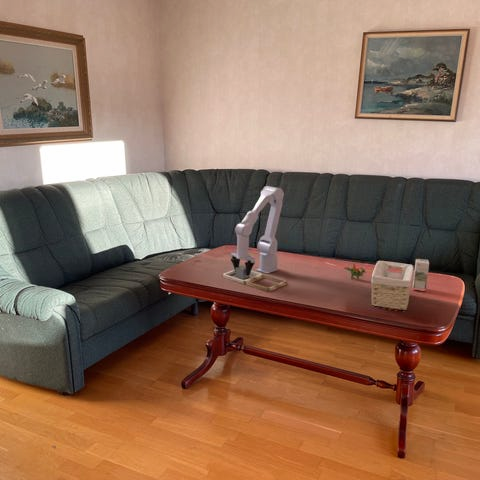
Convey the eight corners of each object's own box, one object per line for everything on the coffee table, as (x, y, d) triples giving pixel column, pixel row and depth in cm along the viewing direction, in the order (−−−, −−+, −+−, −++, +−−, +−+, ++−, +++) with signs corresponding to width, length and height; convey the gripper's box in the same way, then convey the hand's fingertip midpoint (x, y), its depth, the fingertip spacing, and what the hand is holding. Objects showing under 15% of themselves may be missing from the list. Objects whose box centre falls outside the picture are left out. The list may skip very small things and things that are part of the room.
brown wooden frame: (263, 276, 231) (263, 274, 231) (286, 283, 222) (287, 281, 222) (244, 284, 221) (244, 281, 220) (268, 291, 211) (268, 288, 211)
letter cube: (241, 274, 234) (242, 265, 233) (249, 277, 231) (249, 267, 230) (235, 277, 231) (235, 267, 229) (242, 279, 228) (243, 269, 226)
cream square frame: (241, 270, 241) (241, 267, 240) (262, 276, 232) (262, 273, 231) (221, 277, 230) (222, 274, 230) (243, 284, 221) (243, 281, 221)
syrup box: (425, 288, 219) (428, 259, 215) (425, 292, 214) (429, 263, 210) (412, 286, 221) (415, 258, 217) (412, 290, 215) (416, 261, 212)
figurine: (363, 282, 226) (365, 266, 224) (341, 277, 233) (342, 262, 231) (366, 280, 228) (367, 265, 226) (343, 275, 235) (344, 260, 233)
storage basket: (407, 314, 190) (411, 280, 186) (367, 307, 196) (370, 275, 192) (411, 294, 211) (414, 264, 207) (374, 289, 217) (377, 259, 213)
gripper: (226, 246, 229) (226, 271, 232) (248, 251, 219) (248, 278, 223) (236, 243, 234) (235, 268, 237) (258, 248, 225) (257, 275, 228)
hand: (242, 273), depth 230 cm, fingers open, 7 cm apart
